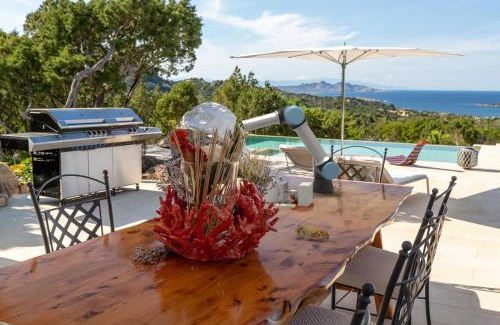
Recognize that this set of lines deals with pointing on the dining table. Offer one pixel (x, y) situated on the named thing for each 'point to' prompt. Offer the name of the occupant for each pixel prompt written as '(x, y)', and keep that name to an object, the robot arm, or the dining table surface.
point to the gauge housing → (302, 195)
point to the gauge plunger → (285, 192)
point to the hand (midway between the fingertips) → (256, 181)
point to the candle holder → (273, 194)
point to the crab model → (311, 232)
